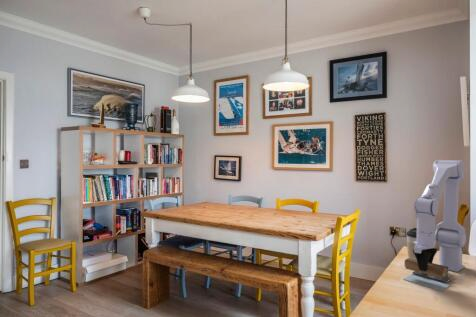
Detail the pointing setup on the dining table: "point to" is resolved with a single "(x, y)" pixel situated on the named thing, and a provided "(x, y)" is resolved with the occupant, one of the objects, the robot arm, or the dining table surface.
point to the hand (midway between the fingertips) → (424, 269)
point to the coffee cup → (411, 242)
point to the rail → (431, 268)
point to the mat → (427, 282)
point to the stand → (442, 280)
